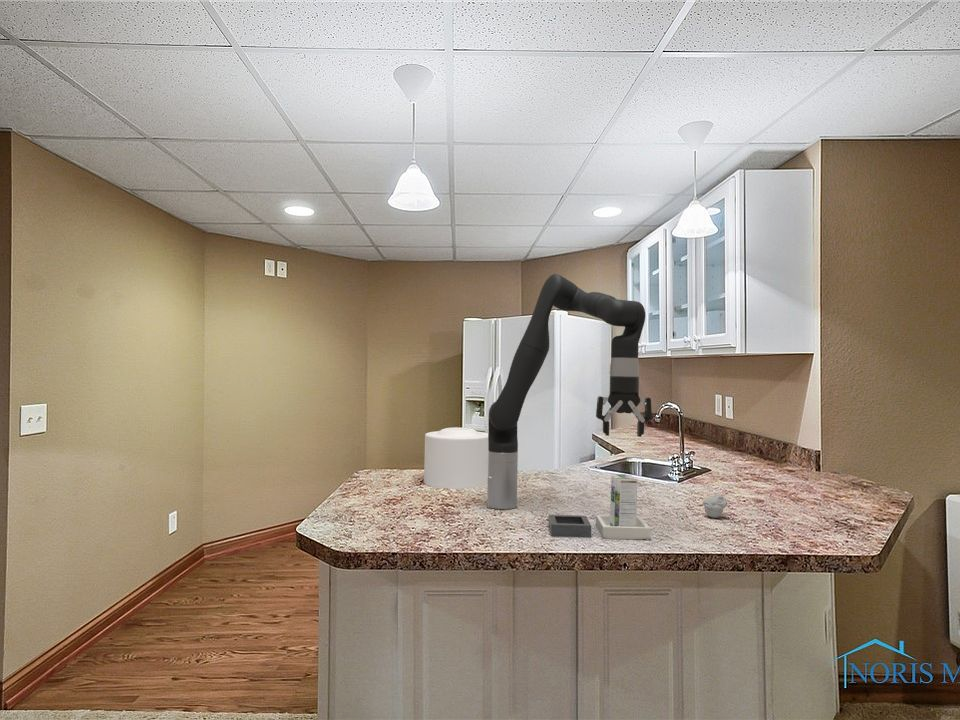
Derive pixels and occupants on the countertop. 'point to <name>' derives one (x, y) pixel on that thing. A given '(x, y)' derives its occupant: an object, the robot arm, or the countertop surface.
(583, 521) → the socket
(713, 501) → the frog figurine
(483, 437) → the container
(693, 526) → the countertop surface
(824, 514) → the countertop surface
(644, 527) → the tray
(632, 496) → the syrup box
